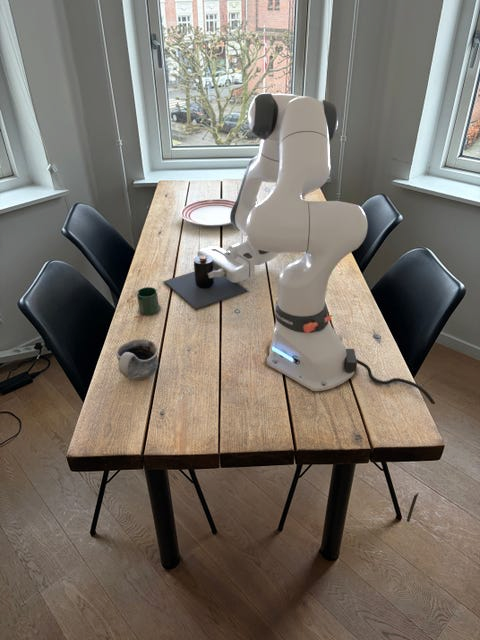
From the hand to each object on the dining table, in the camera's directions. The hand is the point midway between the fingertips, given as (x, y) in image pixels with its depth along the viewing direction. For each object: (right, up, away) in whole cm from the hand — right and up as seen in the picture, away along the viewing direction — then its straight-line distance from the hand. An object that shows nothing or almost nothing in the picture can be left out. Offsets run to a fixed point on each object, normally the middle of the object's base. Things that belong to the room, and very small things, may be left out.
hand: (201, 270), depth 144 cm
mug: (-12, -29, -32) cm, 45 cm away
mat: (+1, -5, +4) cm, 6 cm away
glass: (-15, -12, -7) cm, 20 cm away
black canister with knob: (+1, -4, +3) cm, 5 cm away
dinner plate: (+1, +27, +51) cm, 58 cm away
